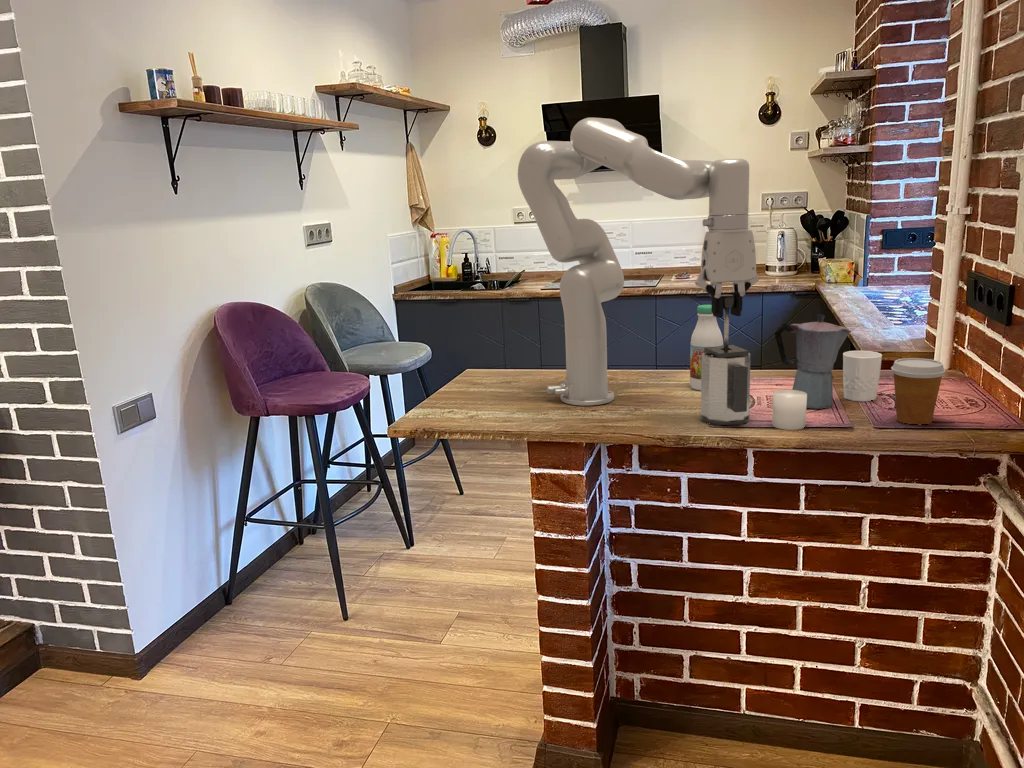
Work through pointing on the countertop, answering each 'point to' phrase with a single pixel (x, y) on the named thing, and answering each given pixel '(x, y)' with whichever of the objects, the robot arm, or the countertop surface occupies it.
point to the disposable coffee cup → (916, 389)
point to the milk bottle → (702, 342)
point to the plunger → (727, 317)
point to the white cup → (861, 375)
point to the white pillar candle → (789, 409)
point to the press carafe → (725, 385)
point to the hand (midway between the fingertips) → (726, 315)
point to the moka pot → (814, 358)
